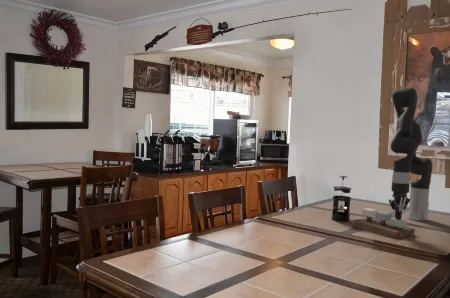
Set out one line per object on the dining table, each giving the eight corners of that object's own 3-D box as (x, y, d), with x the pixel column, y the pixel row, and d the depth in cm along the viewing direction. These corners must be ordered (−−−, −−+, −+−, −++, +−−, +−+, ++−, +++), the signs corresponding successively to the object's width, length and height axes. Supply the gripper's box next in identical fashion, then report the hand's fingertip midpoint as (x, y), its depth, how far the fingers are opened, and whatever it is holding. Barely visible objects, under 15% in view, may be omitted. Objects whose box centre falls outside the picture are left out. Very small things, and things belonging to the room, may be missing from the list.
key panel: (371, 223, 214) (371, 217, 214) (414, 235, 194) (414, 228, 194) (352, 225, 207) (353, 219, 206) (395, 238, 186) (395, 232, 186)
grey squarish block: (381, 222, 203) (382, 211, 203) (390, 225, 199) (391, 213, 199) (375, 223, 201) (375, 212, 200) (384, 226, 197) (384, 214, 196)
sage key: (396, 229, 197) (397, 217, 196) (405, 232, 193) (406, 219, 192) (389, 230, 194) (390, 218, 194) (398, 233, 190) (399, 220, 190)
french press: (342, 223, 212) (345, 177, 210) (326, 219, 219) (329, 175, 217) (355, 220, 220) (357, 176, 218) (339, 216, 227) (342, 174, 225)
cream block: (368, 219, 210) (369, 208, 210) (376, 221, 206) (377, 210, 206) (361, 220, 208) (362, 208, 207) (369, 222, 203) (370, 210, 203)
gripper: (402, 180, 199) (399, 216, 200) (384, 181, 191) (381, 218, 193) (417, 182, 192) (414, 219, 193) (399, 183, 185) (396, 222, 186)
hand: (398, 219), depth 193 cm, fingers closed
